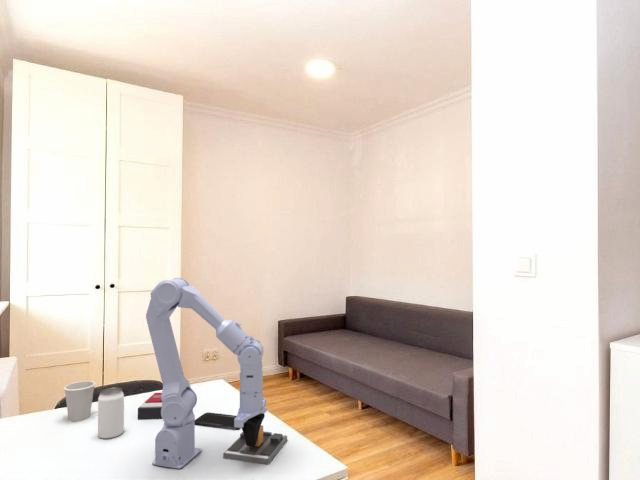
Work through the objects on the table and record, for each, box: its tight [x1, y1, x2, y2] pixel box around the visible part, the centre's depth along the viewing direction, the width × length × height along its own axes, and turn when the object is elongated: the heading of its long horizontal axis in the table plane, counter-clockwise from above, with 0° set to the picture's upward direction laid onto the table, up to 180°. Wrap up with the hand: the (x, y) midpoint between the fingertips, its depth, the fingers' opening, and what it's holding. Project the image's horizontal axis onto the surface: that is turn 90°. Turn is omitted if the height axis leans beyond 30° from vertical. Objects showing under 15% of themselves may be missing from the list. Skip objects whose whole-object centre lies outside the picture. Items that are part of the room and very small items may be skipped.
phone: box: [195, 412, 241, 431], centre depth 122 cm, size 8×1×15 cm
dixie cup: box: [63, 380, 96, 422], centre depth 126 cm, size 8×8×10 cm
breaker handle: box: [255, 424, 264, 446], centre depth 106 cm, size 3×3×4 cm
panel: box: [222, 430, 288, 465], centre depth 106 cm, size 13×12×2 cm
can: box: [97, 387, 125, 440], centre depth 115 cm, size 6×6×12 cm
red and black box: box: [137, 392, 163, 421], centre depth 133 cm, size 11×4×15 cm
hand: (251, 445), depth 103 cm, fingers closed
